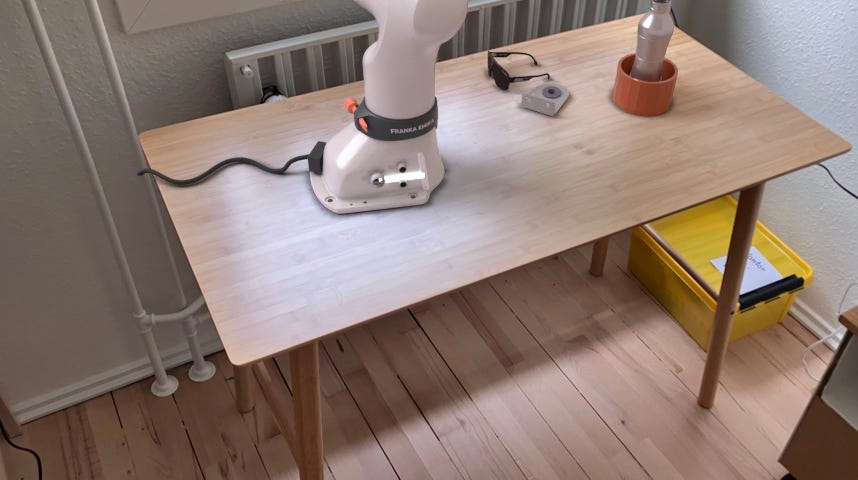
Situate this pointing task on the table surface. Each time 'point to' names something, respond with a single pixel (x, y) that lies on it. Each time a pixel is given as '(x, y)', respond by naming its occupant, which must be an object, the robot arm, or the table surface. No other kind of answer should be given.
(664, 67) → the holder sleeve
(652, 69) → the plastic bottle
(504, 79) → the sunglasses
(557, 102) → the bracket
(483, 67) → the table surface
